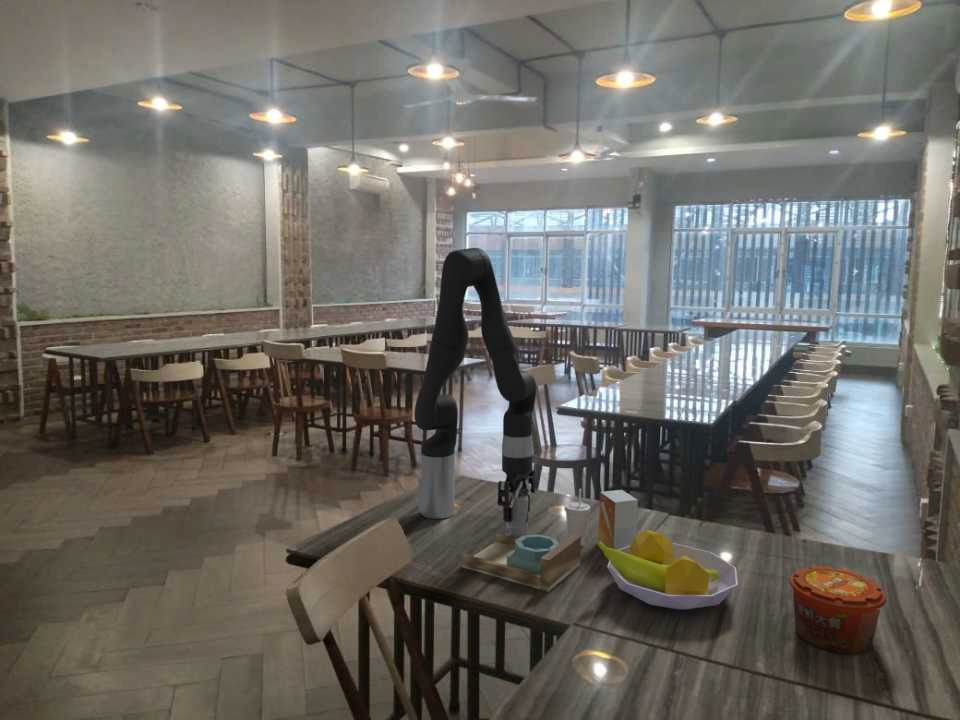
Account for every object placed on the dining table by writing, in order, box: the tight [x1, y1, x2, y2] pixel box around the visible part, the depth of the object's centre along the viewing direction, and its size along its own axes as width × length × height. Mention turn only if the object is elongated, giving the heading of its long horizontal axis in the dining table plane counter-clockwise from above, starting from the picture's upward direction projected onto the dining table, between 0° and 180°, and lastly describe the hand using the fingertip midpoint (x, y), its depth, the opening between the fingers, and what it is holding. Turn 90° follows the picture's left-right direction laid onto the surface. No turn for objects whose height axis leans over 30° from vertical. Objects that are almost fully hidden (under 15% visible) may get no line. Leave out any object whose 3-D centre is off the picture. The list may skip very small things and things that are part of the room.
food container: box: [788, 565, 887, 655], centre depth 130 cm, size 16×16×11 cm
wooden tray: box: [461, 533, 582, 593], centre depth 160 cm, size 22×16×7 cm
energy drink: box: [505, 492, 529, 539], centre depth 174 cm, size 5×5×12 cm
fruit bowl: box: [596, 529, 739, 611], centre depth 147 cm, size 28×27×11 cm
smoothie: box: [563, 488, 591, 547], centre depth 173 cm, size 6×6×14 cm
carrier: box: [507, 534, 560, 574], centre depth 158 cm, size 10×10×5 cm
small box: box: [597, 489, 639, 550], centre depth 171 cm, size 8×6×13 cm
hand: (516, 516), depth 173 cm, fingers open, 8 cm apart
